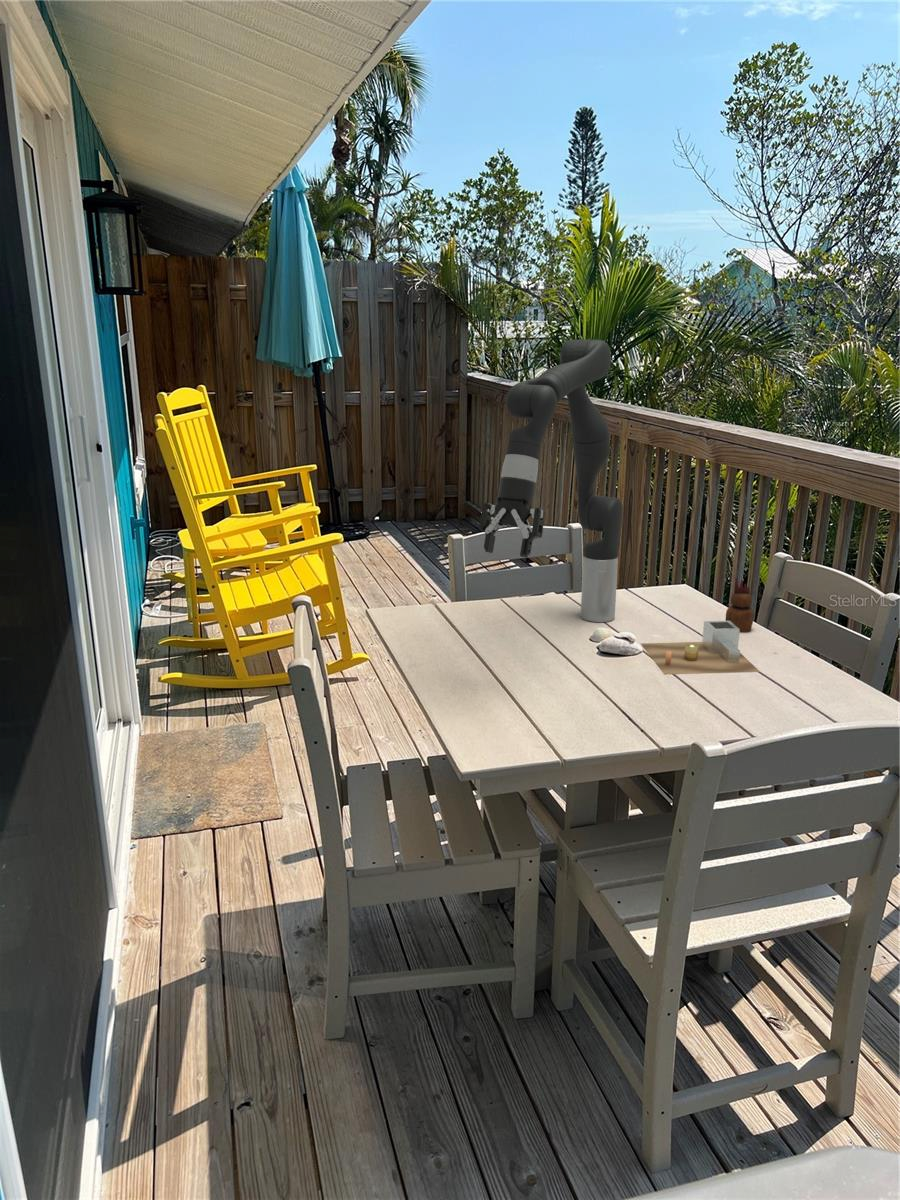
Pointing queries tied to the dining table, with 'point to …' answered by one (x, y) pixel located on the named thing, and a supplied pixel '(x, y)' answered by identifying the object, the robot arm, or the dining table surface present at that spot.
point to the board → (701, 665)
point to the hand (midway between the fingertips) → (505, 554)
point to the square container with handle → (722, 639)
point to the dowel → (668, 658)
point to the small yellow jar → (691, 651)
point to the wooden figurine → (741, 608)
